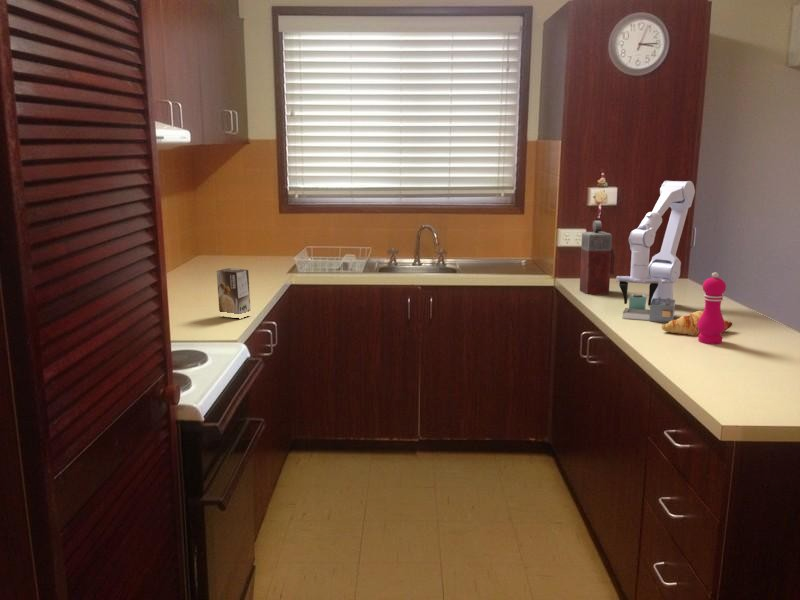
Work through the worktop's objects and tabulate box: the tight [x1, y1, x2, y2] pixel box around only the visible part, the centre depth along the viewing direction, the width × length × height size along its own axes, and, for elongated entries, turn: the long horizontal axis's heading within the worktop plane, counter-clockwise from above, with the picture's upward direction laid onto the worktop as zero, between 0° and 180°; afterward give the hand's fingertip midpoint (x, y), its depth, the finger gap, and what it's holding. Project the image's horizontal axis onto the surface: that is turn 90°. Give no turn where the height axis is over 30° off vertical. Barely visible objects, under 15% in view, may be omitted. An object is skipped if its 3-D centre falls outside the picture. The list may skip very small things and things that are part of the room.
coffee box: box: [216, 267, 252, 314], centre depth 238 cm, size 9×6×16 cm
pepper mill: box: [697, 271, 727, 345], centre depth 200 cm, size 7×7×20 cm
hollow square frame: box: [621, 297, 676, 323], centre depth 232 cm, size 12×16×6 cm
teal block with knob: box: [628, 294, 647, 309], centre depth 241 cm, size 5×5×6 cm
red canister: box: [579, 220, 616, 295], centre depth 275 cm, size 9×11×28 cm
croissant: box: [661, 310, 733, 336], centre depth 213 cm, size 21×10×8 cm, turn 94°
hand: (637, 304), depth 241 cm, fingers open, 7 cm apart
